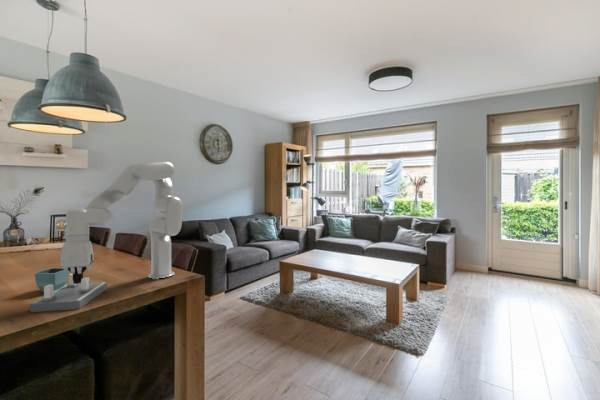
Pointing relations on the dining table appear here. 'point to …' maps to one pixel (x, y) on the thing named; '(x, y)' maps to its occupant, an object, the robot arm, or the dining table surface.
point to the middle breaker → (85, 285)
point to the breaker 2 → (71, 281)
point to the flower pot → (51, 278)
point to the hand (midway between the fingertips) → (77, 282)
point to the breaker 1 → (48, 293)
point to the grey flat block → (69, 298)
